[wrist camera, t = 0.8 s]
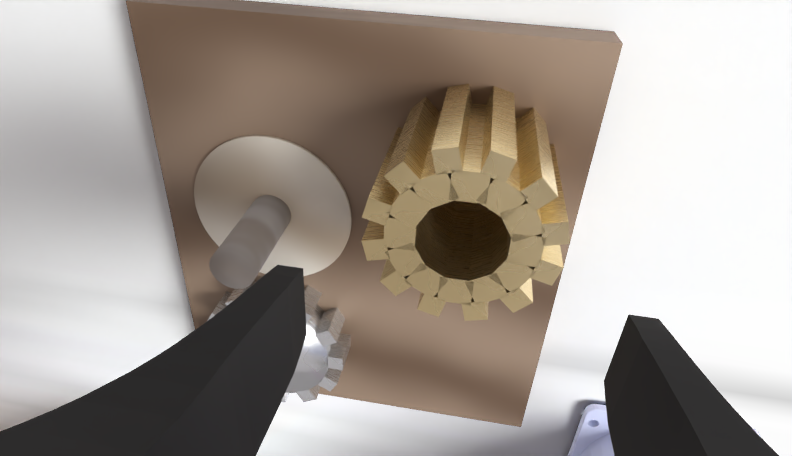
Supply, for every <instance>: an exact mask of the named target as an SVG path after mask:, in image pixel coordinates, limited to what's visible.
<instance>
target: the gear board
mask: <svg viewBox="0 0 792 456" xmlns="http://www.w3.org/2000/svg"><path fill="white" fill-rule="evenodd" d="M126 4H127V9H128V13H129V18H130V23H131V27H132V32H133V37H134V42H135V46H136V51H137V56H138V61H139V65H140V70H141V75H142V80H143V84H144V89H145V94H146V99H147V103H148V108H149V113H150V118H151V122H152V127H153V132H154V137H155V141H156V146H157V151H158V156H159V160H160V165H161V170H162V174H163V179H164V184H165V189H166V193H167V198H168V203H169V208H170V212H171V217H172V222H173V227H174V231H175V236H176V241H177V246H178V250H179V255H180V260H181V265H182V269H183V274H184V279H185V284H186V288H187V293H188V298H189V303H190V307H191V312H192V317H193V322H194V326H195V330H196V329H197V328H199V327H200V326H201V325H203V324H204V323H205V322H207V320H208V319H209V317H210V315H211V314H212V312H213V311H214V309H215V308H216V306H217V305H218V303H219V302H220V300H221V299H222V297H223V296H224V294H225V293H226V291H227V292H229V293H232V292H233V290H234V289H243V288H246V287H248V286H250V285H251V284H252V283H253V281H255V282H257V281H258V280H259V279H260V278H262V277H263V276H264V275H265V274H266V273H268V272H269V271H270V270H271V269H273V268H274V267H275V266H277V265H283V266H290V267H297V268H303V275H304V290H305V289H306V287H307V286H308V285H309V286H311V287H312V288H314V289H316V290H317V291H319V292H321V293H322V294H321V297H320V299H319V301H318V303H317V305H319V306H320V307H321V308H322V309H323V310H324V311H327V310H330V309H333V308H338V309H339V310H340V312H341V313H342V315H343V316H344V318H345V321H344V323H343V326H342V329H341V332H340V333H343V334H349V335H351V346H350V349H349V352H348V355H347V359H346V362H345V365H344V368H343V370H342V371H341V374H340V377H339V381H338V384H337V385H336V386H335V387H334V388H333V389H332V390H331V391H328V390H326V389H325V388H323V387H320V390H319V394H325V395H331V396H337V397H343V398H349V399H355V400H361V401H367V402H373V403H379V404H385V405H391V406H397V407H404V408H410V409H416V410H422V411H428V412H434V413H440V414H446V415H452V416H458V417H464V418H470V419H476V420H482V421H488V422H494V423H500V424H506V425H512V426H518V427H521V425H522V421H523V417H524V413H525V410H526V406H527V402H528V398H529V395H530V391H531V387H532V383H533V379H534V376H535V372H536V368H537V364H538V361H539V357H540V353H541V349H542V346H543V342H544V338H545V334H546V330H547V327H548V323H549V319H550V315H551V312H552V308H553V304H554V300H555V297H556V293H557V289H558V285H559V281H560V278H561V274H562V271H561V273H560V274H559V276H558V277H557V279H556V280H555V282H554V284H553V285H552V286H551V285H548V284H545V283H542V282H540V281H537V280H534V279H532V293H533V303H531V304H530V305H528V306H526V307H524V308H522V309H520V310H518V311H516V312H514V313H513V312H512V311H511V310H510V309H509V308H508V307H507V306H506V305H505V304H504V303H503V302H502V301H501V300H500V299H496V300H492V301H489V302H488V320H471V321H465V320H464V315H463V310H462V305H461V304H458V303H451V302H446V303H445V305H444V307H443V309H442V311H441V313H440V315H439V317H437V316H434V315H431V314H429V313H426V312H423V311H420V310H417V308H418V303H419V298H420V293H421V292H420V291H419V290H417V289H415V288H414V287H412V286H411V287H410V288H408V289H406V290H405V291H403V292H401V293H400V294H398V295H397V296H395V295H394V294H393V293H392V292H391V291H390V290H389V289H387V288H386V287H385V286H384V285H383V284H382V283H381V282H380V279H381V276H382V273H383V269H384V266H385V263H386V259H383V260H371V261H367V259H366V255H365V252H364V248H363V245H362V238H363V236H364V233H365V230H366V228H367V225H368V223H369V220H367V219H365V218H362V215H363V212H364V209H365V206H366V203H367V200H368V197H369V195H370V192H371V190H372V188H373V185H374V183H375V180H376V178H377V176H378V173H379V171H380V169H381V166H382V164H383V161H384V159H385V157H386V154H387V152H388V150H389V147H390V145H391V142H392V140H393V138H394V135H395V133H396V131H397V128H398V127H399V128H402V129H403V127H404V124H405V122H406V119H407V117H408V114H409V112H410V109H411V108H413V107H414V106H415V105H416V104H418V103H419V102H420V101H421V100H422V99H424V98H425V97H427V98H428V99H429V101H430V102H431V103H432V104H433V105H434V106H435V108H436V109H437V110H438V111H441V110H442V107H443V104H444V100H445V96H446V92H447V88H448V87H450V86H457V85H463V84H469V86H470V92H471V99H472V103H476V104H486V103H487V101H488V98H489V96H490V94H491V91H492V89H493V87H494V86H495V87H498V88H501V89H504V90H506V91H509V92H512V93H514V103H515V119H518V118H519V117H521V116H522V115H524V114H525V113H526V112H528V111H529V110H531V109H532V108H533V107H534V109H535V110H536V111H537V112H538V114H539V115H540V116H541V118H542V119H543V120H544V121H545V123H546V126H547V132H548V138H549V144H554V146H555V152H556V157H557V163H558V168H559V173H560V179H561V184H562V190H563V195H564V200H565V206H566V211H567V217H568V222H569V238H570V240H571V236H572V232H573V229H574V225H575V221H576V217H577V214H578V210H579V206H580V202H581V199H582V195H583V191H584V187H585V183H586V180H587V176H588V172H589V168H590V165H591V161H592V157H593V153H594V150H595V146H596V142H597V138H598V134H599V131H600V127H601V123H602V119H603V116H604V112H605V108H606V104H607V100H608V97H609V93H610V89H611V85H612V82H613V78H614V74H615V70H616V67H617V63H618V59H619V55H620V51H621V48H622V44H623V43H622V42H621V41H620V39H619V38H618V36H617V35H616V33H615V32H612V31H600V30H588V29H576V28H564V27H552V26H540V25H528V24H516V23H505V22H493V21H481V20H469V19H457V18H445V17H433V16H421V15H409V14H397V13H385V12H373V11H361V10H349V9H338V8H326V7H314V6H302V5H290V4H278V3H266V2H254V1H242V0H127V1H126ZM560 247H561V254H562V261H563V266H564V263H565V259H566V255H567V251H568V248H569V244H563V245H560ZM562 270H563V269H562Z"/></svg>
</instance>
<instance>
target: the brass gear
mask: <svg viewBox="0 0 792 456" xmlns="http://www.w3.org/2000/svg"><path fill="white" fill-rule="evenodd" d="M362 218H365V219H367V220H369V223H368V225H367V228H366V230H365V233H364V236H363V238H362V245H363V248H364V252H365V255H366V259H367V261H371V260H383V259H386V263H385V266H384V269H383V273H382V276H381V279H380V282H381V283H382V284H383V285H384V286H385V287H386V288H387V289H389V290H390V291H391V292H392V293H393V294H394V295H395V296H397V295H398V294H400V293H401V292H403V291H405V290H406V289H408V288H410V287H411V286H412V287H414V288H415V289H417V290H419V291H420V292H421V293H420V298H419V303H418V308H417V310H420V311H423V312H426V313H429V314H431V315H434V316H437V317H439V315H440V313H441V311H442V309H443V307H444V305H445V303H446V302H451V303H458V304H461V305H462V310H463V315H464V320H465V321H471V320H488V302H489V301H492V300H496V299H500V300H501V301H502V302H503V303H504V304H505V305H506V306H507V307H508V308H509V309H510V310H511V311H512V312H513V313H514V312H516V311H518V310H520V309H522V308H524V307H526V306H528V305H530V304H531V303H533V293H532V279H534V280H537V281H540V282H542V283H545V284H548V285H551V286H552V285H553V284H554V282H555V280H556V279H557V277H558V276H559V274H560V273H561V271H562V269H563V268H564V267H563V261H562V254H561V247H560V245H563V244H570V238H569V222H568V217H567V211H566V206H565V200H564V195H563V190H562V184H561V179H560V173H559V168H558V163H557V157H556V152H555V146H554V144H549V138H548V132H547V126H546V123H545V121H544V120H543V119H542V118H541V116H540V115H539V114H538V112H537V111H536V110H535V109H534V107H533V108H532V109H531V110H529V111H528V112H526V113H525V114H524V115H522V116H521V117H519V118H518V119H515V103H514V93H512V92H509V91H506V90H504V89H501V88H498V87H495V86H494V87H493V89H492V91H491V94H490V96H489V98H488V101H487V103H486V104H476V103H472V99H471V92H470V86H469V84H463V85H457V86H450V87H448V88H447V92H446V96H445V100H444V104H443V107H442V110H441V111H438V110H437V109H436V108H435V106H434V105H433V104H432V103H431V102H430V101H429V99H428V98H427V97H425V98H424V99H422V100H421V101H420V102H419V103H418V104H416V105H415V106H414V107H413V108H411V109H410V112H409V114H408V117H407V119H406V122H405V124H404V127H403V129H402V128H399V127H398V128H397V131H396V133H395V135H394V138H393V140H392V142H391V145H390V147H389V150H388V152H387V154H386V157H385V159H384V161H383V164H382V166H381V169H380V171H379V173H378V176H377V178H376V180H375V183H374V185H373V188H372V190H371V192H370V195H369V197H368V200H367V203H366V206H365V209H364V212H363V215H362Z"/></svg>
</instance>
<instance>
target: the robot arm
mask: <svg viewBox="0 0 792 456" xmlns="http://www.w3.org/2000/svg"><path fill="white" fill-rule="evenodd" d="M306 335H307V329H306V311H305V293H304V275H303V268H297V267H290V266H283V265H277V266H275V267H274V268H273V269H271V270H270V271H269V272H268V273H266V274H265V275H264V276H263V277H262V278H260V279H259V280H258V281H257V282H256V283H254V284H253V285H252V286H251V287H250V288H248V289H247V290H246V291H245V292H243V293H242V294H241V295H240V296H239V297H237V298H236V299H235V300H234V301H232V302H231V303H230V304H229V305H227V306H226V307H225V308H224V309H222V310H221V311H220V312H218V313H217V314H216V315H215V316H213V317H212V318H211V319H209V320H208V321H207V322H205V323H204V324H203V325H201V326H200V327H199V328H197V329H196V330H194V331H193V332H192V333H190V334H189V335H187V336H186V337H185V338H183V339H182V340H180V341H179V342H177V343H176V344H175V345H173V346H172V347H170V348H169V349H167V350H165V351H164V352H162V353H161V354H159V355H158V356H156V357H154V358H153V359H151V360H149V361H148V362H146V363H144V364H143V365H141V366H139V367H138V368H136V369H134V370H132V371H131V372H129V373H127V374H125V375H123V376H121V377H119V378H117V379H116V380H114V381H112V382H110V383H108V384H106V385H104V386H102V387H100V388H98V389H96V390H94V391H92V392H90V393H88V394H87V395H85V396H83V397H81V398H78V399H76V400H74V401H72V402H70V403H68V404H65V405H63V406H61V407H59V408H57V409H54V410H52V411H50V412H47V413H45V414H43V415H40V416H38V417H36V418H33V419H31V420H29V421H26V422H24V423H21V424H19V425H16V426H14V427H11V428H9V429H6V430H3V431H0V456H256V454H257V452H258V449H259V447H260V445H261V443H262V441H263V439H264V437H265V435H266V433H267V430H268V428H269V426H270V424H271V422H272V420H273V418H274V416H275V413H276V411H277V409H278V407H279V405H280V403H281V401H282V399H283V396H284V394H285V392H286V390H287V388H288V386H289V383H290V381H291V379H292V377H293V375H294V372H295V369H296V366H297V363H298V360H299V357H300V354H301V351H302V348H303V345H304V341H305V338H306ZM604 386H605V399H606V405H600V404H591V405H588V406H587V407H586V408H585V409H584V412H583V414H582V417H581V420H580V423H579V426H578V429H577V431H576V434H575V437H574V440H573V443H572V445H571V448H570V451H569V454H568V456H779V455H778V454H777V453H776V452H775V451H774V450H773V449H772V448H771V447H770V446H769V445H768V444H767V443H766V442H765V441H764V440H763V439H762V438H761V437H760V434H759V432H758V431H757V430H755V429H752V428H751V427H750V426H749V425H748V424H747V422H746V421H745V420H744V419H743V418H742V417H741V416H740V415H739V414H738V413H737V412H736V411H735V410H734V408H733V407H732V406H731V405H730V404H729V403H728V402H727V401H726V399H725V398H724V397H723V396H722V395H721V394H720V393H719V392H718V390H717V389H716V388H715V387H714V386H713V385H712V383H711V382H710V381H709V380H708V379H707V377H706V376H705V375H704V374H703V373H702V371H701V370H700V369H699V368H698V367H697V365H696V364H695V363H694V362H693V361H692V359H691V358H690V357H689V356H688V354H687V353H686V352H685V351H684V350H683V348H682V347H681V346H680V345H679V343H678V342H677V341H676V340H675V338H674V337H673V336H672V335H671V333H670V332H669V331H668V330H667V329H666V327H665V326H664V325H663V324H662V323H661V321H660V320H659V319H655V318H648V317H641V316H634V315H628V318H627V321H626V323H625V326H624V329H623V331H622V334H621V337H620V339H619V342H618V345H617V347H616V350H615V353H614V355H613V358H612V361H611V363H610V366H609V369H608V371H607V374H606V377H605V380H604Z"/></svg>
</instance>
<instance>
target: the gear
mask: <svg viewBox="0 0 792 456" xmlns="http://www.w3.org/2000/svg"><path fill="white" fill-rule="evenodd" d="M254 283H256V282H255V281H253V283H252V284H251V285H250V286H248V287H246V288H243V289H234V290H233V292H232V293H229V292H227V291H226V293H225V294H224V296H223V297H222V299H221V300H220V302H219V303H218V305H217V306H216V308H215V309H214V311H213V312H212V314H211V315H210V317H209V319H211V318H212V317H213V316H215V315H216V314H217V313H218V312H220V311H221V310H222V309H224V308H225V307H226V306H227V305H229V304H230V303H231V302H232V301H234V300H235V299H236V298H237V297H239V296H240V295H241V294H242V293H243V292H245V291H246V290H247V289H248V288H250V287H251V286H252V285H253V284H254ZM304 293H305V311H306V329H307V335H306V338H305V341H304V345H303V348H302V351H301V354H300V357H299V360H298V363H297V366H296V369H295V372H294V375H293V377H292V379H291V381H290V383H289V386H288V388H287V390H286V392H285V394H284V396H283V399H282V401H281V402H286V399H287V397H288V394H289V393H295V392H296V393H297V394H298V395H299V397H300V398H301V399H302V400H303V402H306V401H310V400H315V399H316V398H317V395H318V393H319V390H320V387H323V388H325V389H326V390H328V391H331V390H332V389H333V388H334V387H335V386H336V385H337V384H338V381H339V377H340V374H341V371H342V370H343V368H344V365H345V362H346V359H347V355H348V352H349V349H350V346H351V335H349V334H343V333H340V332H341V329H342V326H343V323H344V321H345V318H344V316H343V315H342V313H341V312H340V310H339V309H338V308H333V309H330V310H327V311H324V310H323V309H322V308H321V307H320V306H319V305H317V303H318V301H319V299H320V297H321V294H322V293H321V292H319V291H317V290H316V289H314V288H312V287H311V286H309V285H308V286H307V287H306V289H305V290H304ZM209 319H208V320H209ZM208 320H207V321H208Z"/></svg>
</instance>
